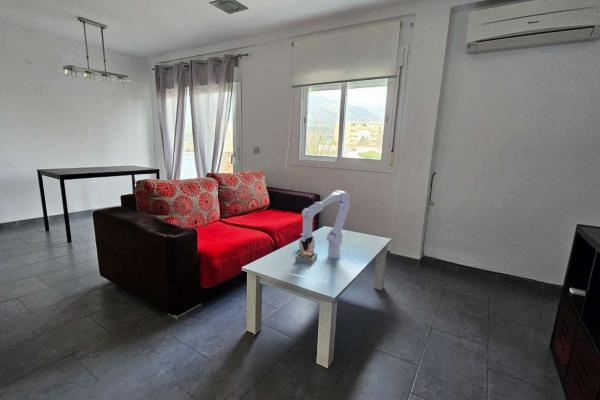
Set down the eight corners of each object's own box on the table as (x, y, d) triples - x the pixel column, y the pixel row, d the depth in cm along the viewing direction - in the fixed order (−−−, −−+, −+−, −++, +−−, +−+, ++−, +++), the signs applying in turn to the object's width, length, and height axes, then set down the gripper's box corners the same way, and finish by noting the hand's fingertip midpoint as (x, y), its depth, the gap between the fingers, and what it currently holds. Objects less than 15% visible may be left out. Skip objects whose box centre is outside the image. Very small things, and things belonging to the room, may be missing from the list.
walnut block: (303, 257, 180) (303, 252, 179) (312, 259, 177) (312, 253, 177) (300, 261, 174) (300, 255, 173) (309, 262, 172) (309, 256, 171)
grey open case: (311, 254, 187) (312, 243, 186) (296, 252, 191) (296, 241, 189) (317, 247, 200) (317, 237, 199) (303, 245, 204) (303, 235, 202)
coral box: (303, 249, 178) (304, 241, 177) (312, 250, 175) (313, 243, 175) (301, 251, 173) (301, 244, 172) (310, 253, 171) (310, 245, 170)
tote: (301, 257, 183) (301, 250, 182) (316, 259, 179) (317, 253, 178) (295, 263, 173) (295, 256, 172) (311, 266, 169) (311, 259, 168)
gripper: (305, 224, 180) (304, 244, 182) (297, 230, 166) (296, 251, 169) (315, 225, 177) (315, 245, 180) (308, 231, 164) (307, 253, 166)
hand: (306, 248), depth 174 cm, fingers closed on coral box, 4 cm apart
